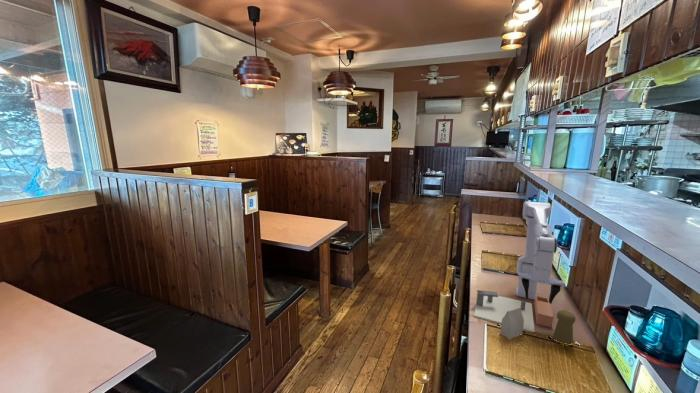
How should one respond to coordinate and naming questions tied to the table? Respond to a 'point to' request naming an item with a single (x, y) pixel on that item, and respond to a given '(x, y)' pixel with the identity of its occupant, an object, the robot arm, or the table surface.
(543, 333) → the table surface
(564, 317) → the cork
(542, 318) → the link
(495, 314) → the board
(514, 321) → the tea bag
